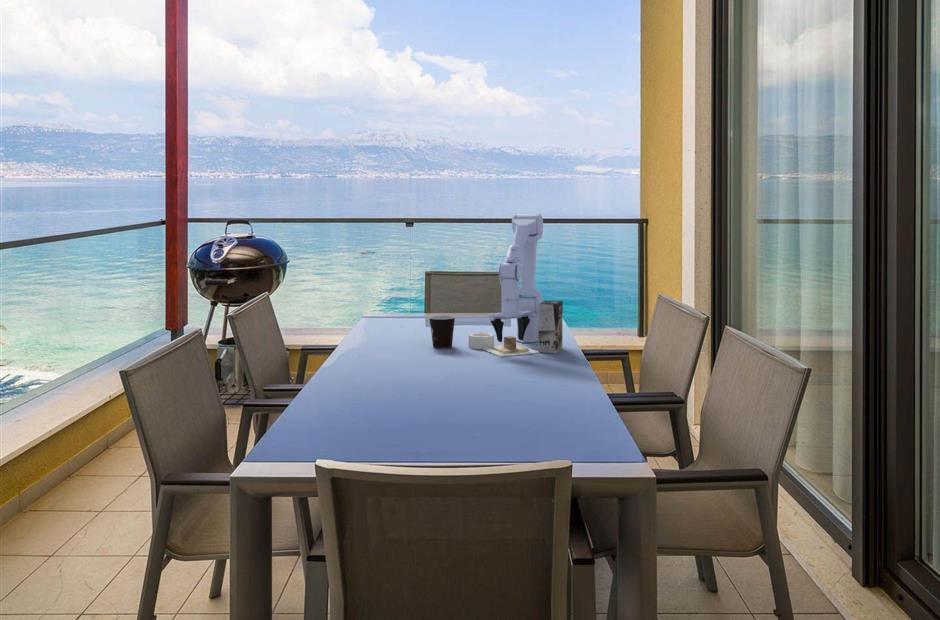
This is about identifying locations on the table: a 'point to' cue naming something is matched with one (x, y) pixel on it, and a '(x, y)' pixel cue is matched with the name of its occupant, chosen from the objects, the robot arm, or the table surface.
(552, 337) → the coffee box
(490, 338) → the bowl
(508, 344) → the cover
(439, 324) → the coffee mug
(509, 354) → the mat
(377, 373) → the table surface
